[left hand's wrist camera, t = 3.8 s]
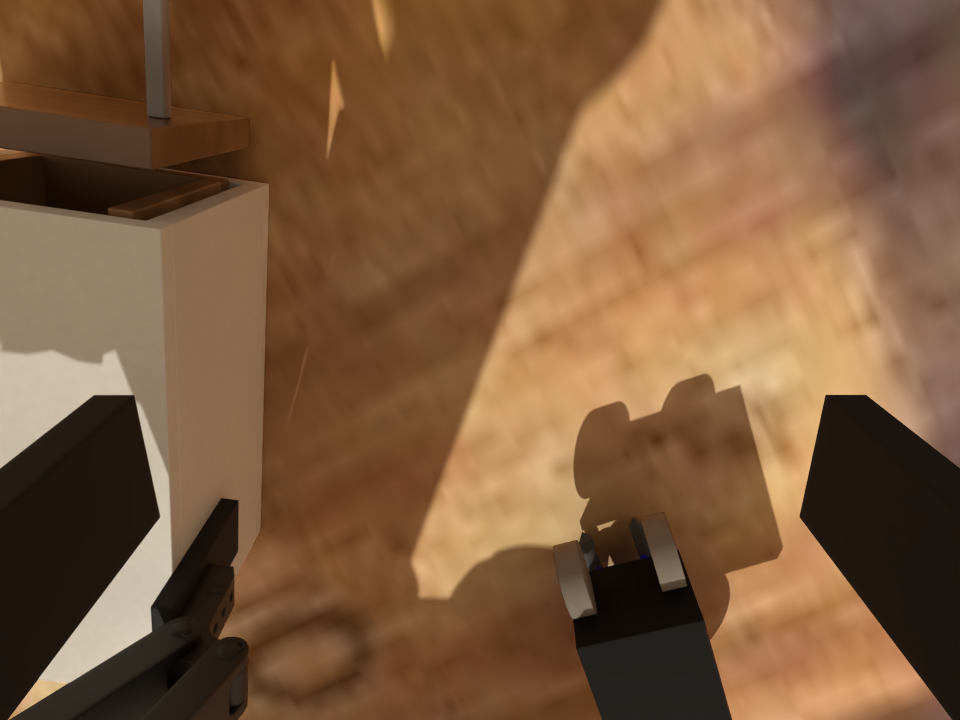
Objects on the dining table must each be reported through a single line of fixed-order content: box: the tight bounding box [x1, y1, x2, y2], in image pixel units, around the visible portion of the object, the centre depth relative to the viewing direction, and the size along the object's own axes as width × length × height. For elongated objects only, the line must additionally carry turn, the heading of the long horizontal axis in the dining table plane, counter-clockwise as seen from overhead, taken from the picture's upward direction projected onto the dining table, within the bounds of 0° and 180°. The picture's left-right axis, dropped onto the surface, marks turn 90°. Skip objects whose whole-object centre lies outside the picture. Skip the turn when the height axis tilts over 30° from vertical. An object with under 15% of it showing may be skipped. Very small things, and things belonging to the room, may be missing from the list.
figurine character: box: [553, 512, 732, 720], centre depth 35 cm, size 7×8×15 cm
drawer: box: [0, 0, 250, 221], centre depth 25 cm, size 23×10×9 cm, turn 172°
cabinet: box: [0, 149, 269, 683], centre depth 27 cm, size 19×11×11 cm, turn 172°
